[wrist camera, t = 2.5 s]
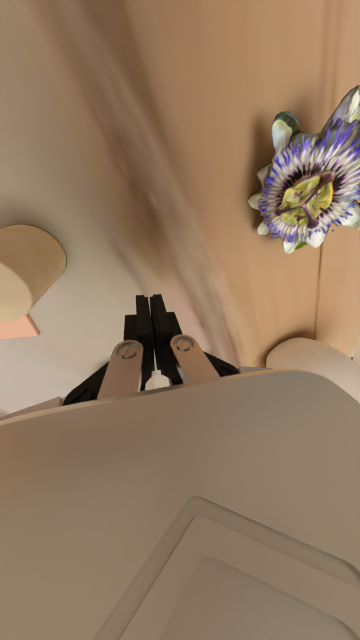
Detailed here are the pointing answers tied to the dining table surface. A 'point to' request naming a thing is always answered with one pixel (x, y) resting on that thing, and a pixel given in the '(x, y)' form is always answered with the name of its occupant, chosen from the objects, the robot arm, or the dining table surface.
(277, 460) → the robot arm
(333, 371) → the pitcher
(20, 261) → the candle
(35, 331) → the mat
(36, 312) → the dining table surface
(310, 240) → the passion flower
